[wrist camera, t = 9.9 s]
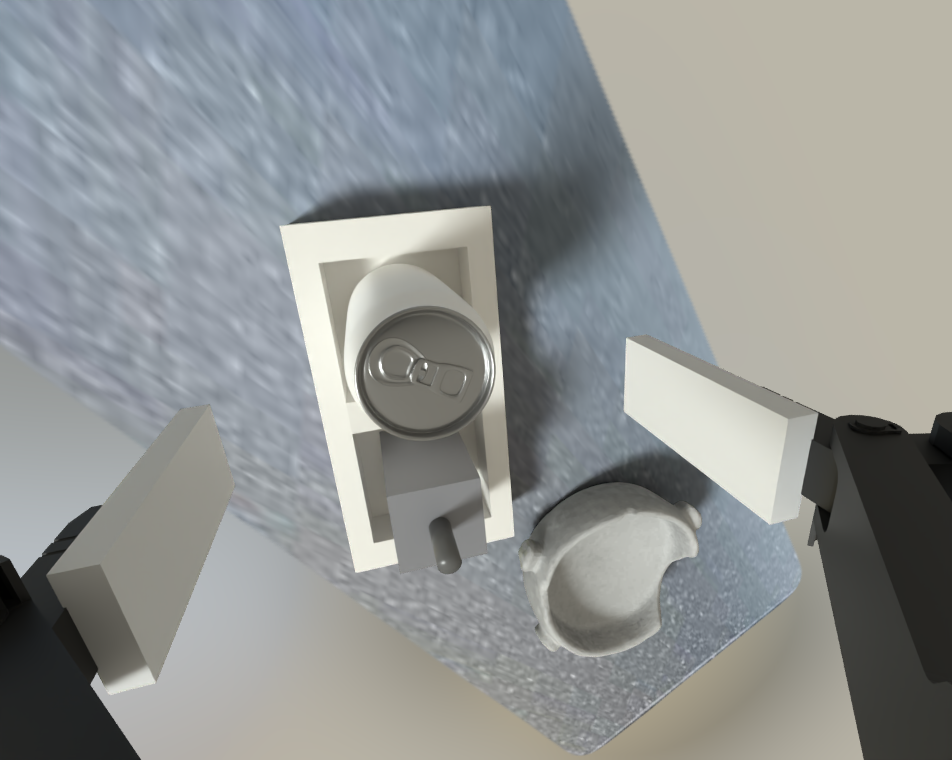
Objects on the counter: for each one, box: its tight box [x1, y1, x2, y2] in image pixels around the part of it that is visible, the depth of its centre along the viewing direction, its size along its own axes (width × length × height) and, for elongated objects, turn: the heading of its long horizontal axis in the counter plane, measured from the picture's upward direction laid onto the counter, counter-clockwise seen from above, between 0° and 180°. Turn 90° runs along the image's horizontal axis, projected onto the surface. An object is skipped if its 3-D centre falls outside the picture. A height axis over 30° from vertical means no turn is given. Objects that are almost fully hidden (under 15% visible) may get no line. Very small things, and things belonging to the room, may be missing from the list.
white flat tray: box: [280, 206, 514, 573], centre depth 31 cm, size 22×11×4 cm, turn 5°
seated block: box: [379, 431, 488, 574], centre depth 28 cm, size 5×5×11 cm
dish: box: [518, 482, 702, 657], centre depth 39 cm, size 14×14×5 cm
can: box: [344, 264, 496, 441], centre depth 24 cm, size 6×6×12 cm
